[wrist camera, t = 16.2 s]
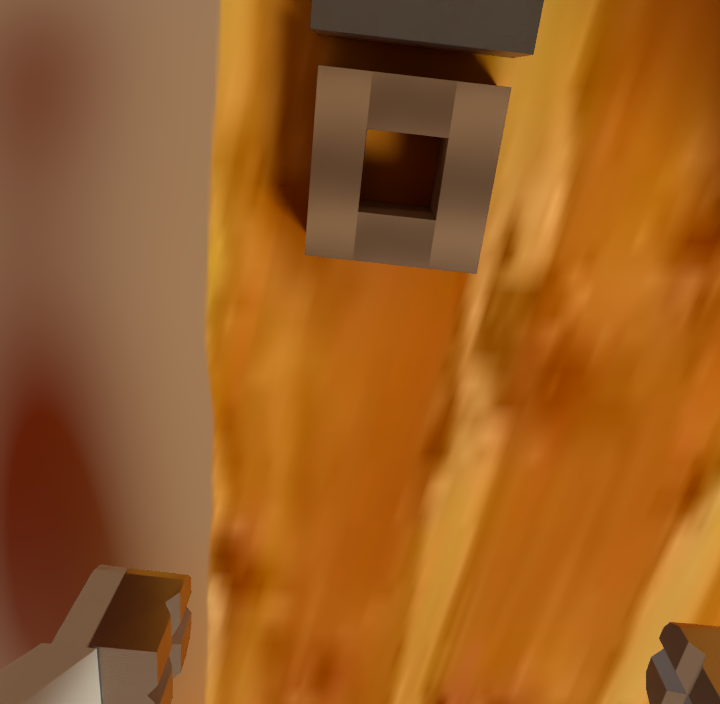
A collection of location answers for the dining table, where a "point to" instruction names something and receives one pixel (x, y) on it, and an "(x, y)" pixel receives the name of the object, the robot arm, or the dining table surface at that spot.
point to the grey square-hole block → (434, 23)
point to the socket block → (452, 177)
